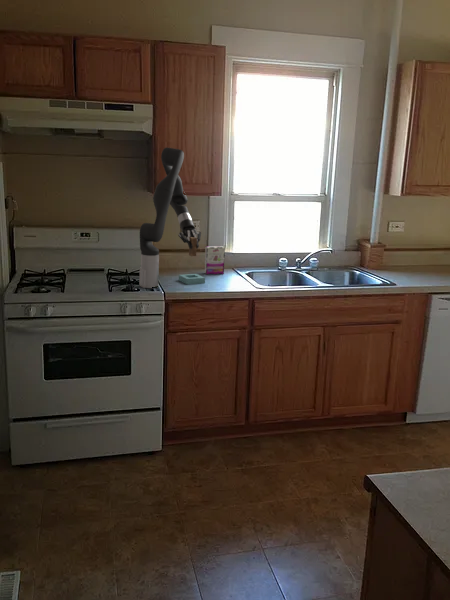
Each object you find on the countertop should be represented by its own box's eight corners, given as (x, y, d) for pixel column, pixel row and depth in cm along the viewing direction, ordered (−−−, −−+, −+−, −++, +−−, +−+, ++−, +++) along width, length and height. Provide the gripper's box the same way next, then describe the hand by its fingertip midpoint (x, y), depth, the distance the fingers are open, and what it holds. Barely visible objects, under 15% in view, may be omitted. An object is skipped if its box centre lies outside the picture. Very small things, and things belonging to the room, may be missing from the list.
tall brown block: (191, 256, 311) (191, 238, 308) (188, 255, 313) (189, 237, 311) (196, 256, 312) (196, 238, 309) (193, 254, 315) (194, 237, 312)
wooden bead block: (186, 284, 309) (187, 278, 308) (178, 280, 318) (178, 274, 317) (204, 283, 314) (205, 277, 313) (196, 279, 323) (196, 273, 323)
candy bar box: (221, 272, 345) (223, 246, 341) (224, 274, 341) (225, 247, 337) (204, 272, 342) (205, 245, 338) (205, 274, 338) (207, 247, 334)
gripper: (176, 218, 311) (185, 244, 303) (199, 218, 317) (208, 243, 310) (172, 227, 316) (180, 252, 309) (195, 226, 323) (203, 251, 316)
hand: (194, 247), depth 310 cm, fingers closed on tall brown block, 3 cm apart
